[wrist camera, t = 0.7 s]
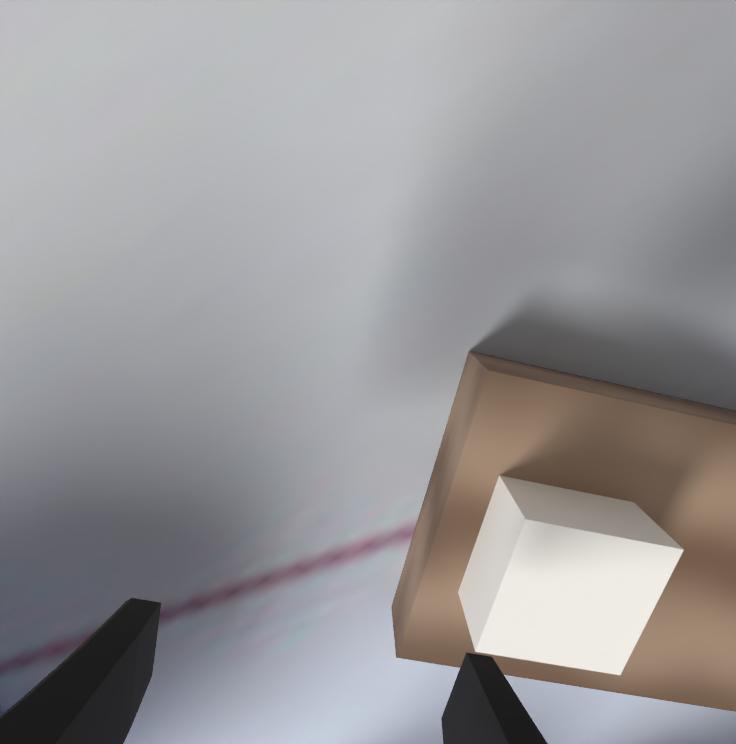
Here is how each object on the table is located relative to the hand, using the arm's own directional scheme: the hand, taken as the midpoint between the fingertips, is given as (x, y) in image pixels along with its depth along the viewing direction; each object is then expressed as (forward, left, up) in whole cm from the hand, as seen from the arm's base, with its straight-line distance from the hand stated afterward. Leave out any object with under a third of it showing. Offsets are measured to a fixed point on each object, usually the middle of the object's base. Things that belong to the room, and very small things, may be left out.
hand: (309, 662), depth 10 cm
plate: (0, -12, -8) cm, 15 cm away
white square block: (0, -8, -6) cm, 10 cm away
